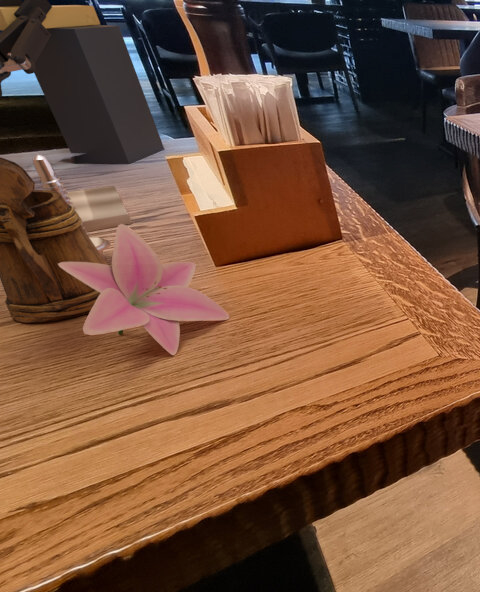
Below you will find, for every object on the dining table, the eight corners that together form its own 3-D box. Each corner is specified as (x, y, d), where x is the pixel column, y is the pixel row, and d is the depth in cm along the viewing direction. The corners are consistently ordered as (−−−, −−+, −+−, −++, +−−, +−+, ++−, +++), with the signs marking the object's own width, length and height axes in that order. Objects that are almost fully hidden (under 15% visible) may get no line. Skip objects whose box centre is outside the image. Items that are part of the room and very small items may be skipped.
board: (48, 204, 78) (44, 195, 77) (117, 194, 83) (113, 185, 82) (54, 237, 68) (49, 227, 67) (132, 223, 73) (128, 213, 72)
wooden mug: (-12, 358, 46) (-147, 155, 37) (21, 293, 56) (-80, 120, 47) (118, 329, 51) (25, 142, 42) (128, 274, 60) (54, 113, 51)
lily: (84, 401, 43) (106, 313, 40) (14, 314, 46) (30, 224, 43) (233, 364, 54) (260, 292, 51) (169, 295, 57) (191, 223, 54)
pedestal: (129, 164, 97) (74, 28, 86) (75, 163, 96) (12, 26, 85) (164, 149, 106) (118, 25, 95) (115, 149, 105) (63, 23, 94)
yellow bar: (10, 30, 78) (0, 8, 77) (-12, 30, 78) (-23, 7, 77) (100, 24, 95) (93, 5, 93) (82, 24, 94) (74, 5, 93)
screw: (100, 251, 65) (126, 258, 64) (53, 266, 61) (79, 275, 60) (50, 146, 59) (77, 152, 57) (-6, 156, 55) (22, 162, 53)
